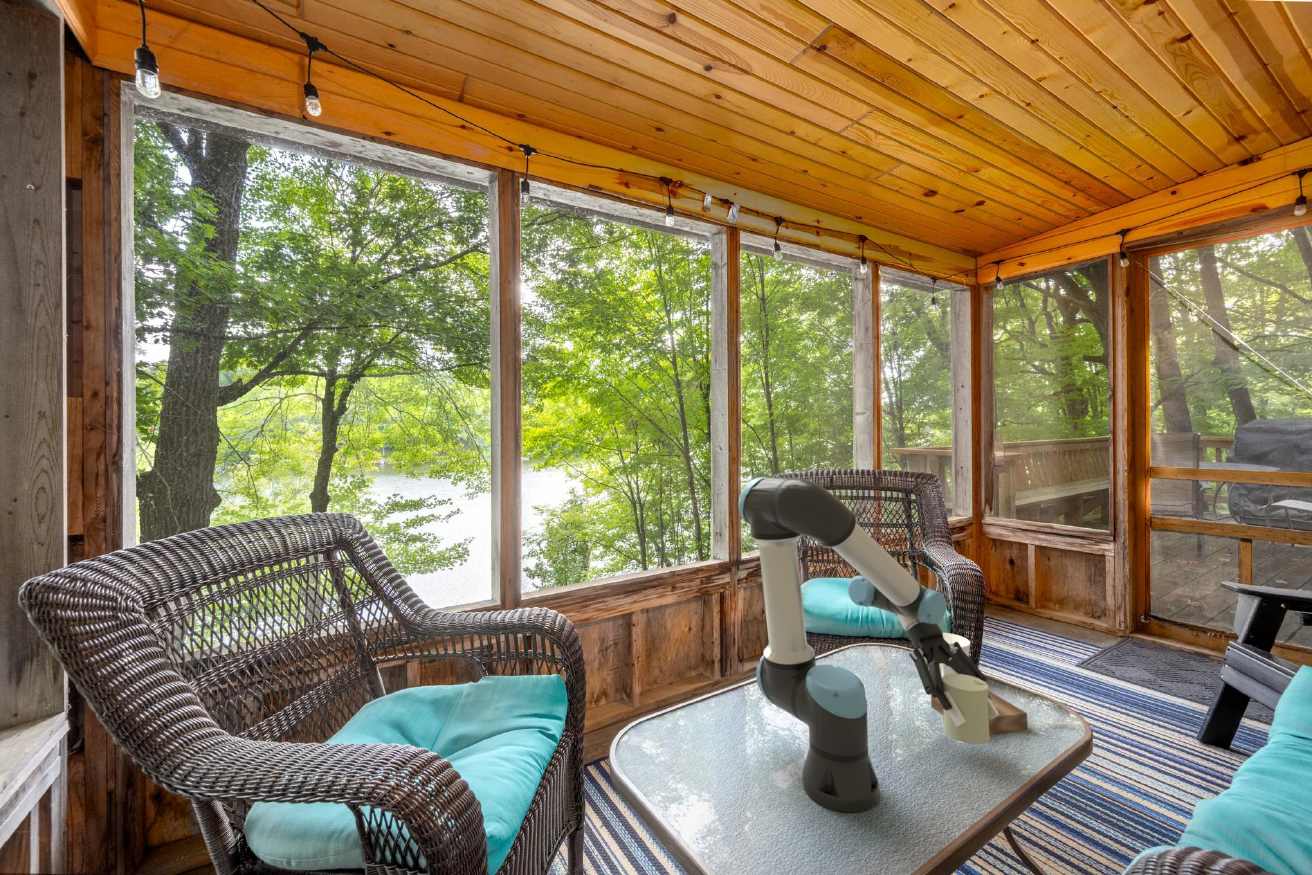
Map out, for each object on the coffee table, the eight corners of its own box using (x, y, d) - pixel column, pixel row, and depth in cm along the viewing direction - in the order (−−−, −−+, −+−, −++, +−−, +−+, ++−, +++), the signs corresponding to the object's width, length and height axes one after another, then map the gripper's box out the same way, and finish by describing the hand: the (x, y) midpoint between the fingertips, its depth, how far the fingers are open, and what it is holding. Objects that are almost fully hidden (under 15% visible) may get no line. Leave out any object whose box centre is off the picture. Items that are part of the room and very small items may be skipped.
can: (997, 746, 116) (995, 690, 116) (950, 742, 118) (949, 687, 118) (980, 724, 125) (979, 672, 125) (937, 721, 127) (936, 670, 127)
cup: (922, 665, 169) (920, 630, 169) (967, 669, 165) (965, 633, 165) (928, 683, 157) (926, 645, 157) (976, 687, 153) (974, 648, 153)
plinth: (972, 736, 129) (971, 719, 129) (931, 706, 143) (930, 691, 144) (1027, 729, 131) (1026, 713, 131) (982, 700, 146) (981, 686, 146)
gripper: (945, 628, 140) (1004, 718, 124) (877, 638, 133) (930, 735, 118) (962, 613, 135) (1025, 705, 119) (892, 623, 128) (949, 722, 113)
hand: (978, 720), depth 119 cm, fingers closed on can, 9 cm apart
